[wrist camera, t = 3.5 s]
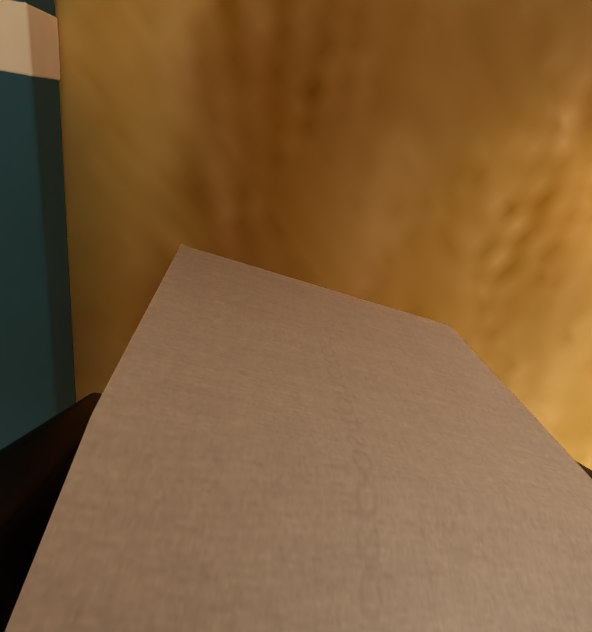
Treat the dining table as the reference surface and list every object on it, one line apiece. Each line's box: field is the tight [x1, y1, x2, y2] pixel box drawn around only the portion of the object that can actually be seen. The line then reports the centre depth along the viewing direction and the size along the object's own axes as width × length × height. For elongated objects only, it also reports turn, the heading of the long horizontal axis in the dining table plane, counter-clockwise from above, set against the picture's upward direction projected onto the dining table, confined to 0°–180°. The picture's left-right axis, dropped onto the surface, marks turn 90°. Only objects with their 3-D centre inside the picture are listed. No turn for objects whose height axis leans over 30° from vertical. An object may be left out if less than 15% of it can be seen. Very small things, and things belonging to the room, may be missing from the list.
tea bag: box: [5, 244, 592, 632], centre depth 6 cm, size 4×7×10 cm, turn 71°
